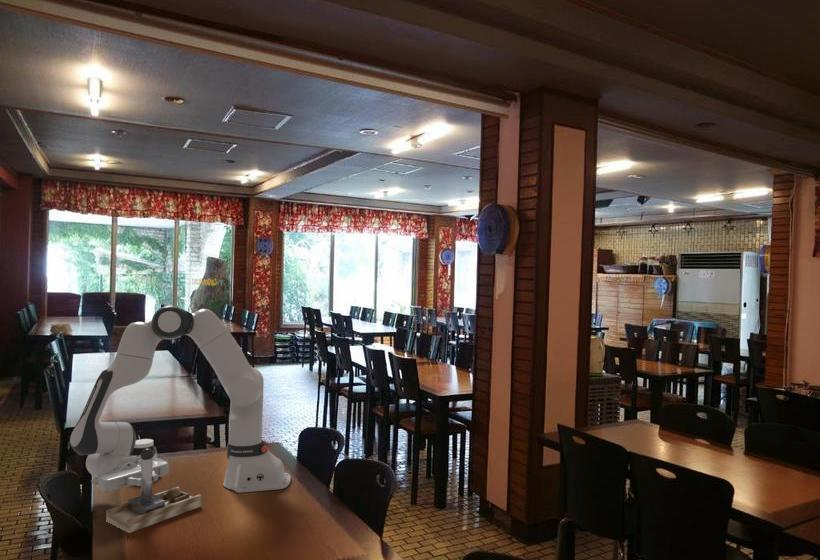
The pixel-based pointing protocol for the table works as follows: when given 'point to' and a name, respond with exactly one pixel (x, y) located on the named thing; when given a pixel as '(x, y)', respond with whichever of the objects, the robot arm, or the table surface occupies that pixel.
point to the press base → (151, 512)
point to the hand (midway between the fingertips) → (148, 480)
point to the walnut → (173, 494)
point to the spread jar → (143, 447)
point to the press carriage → (146, 488)
